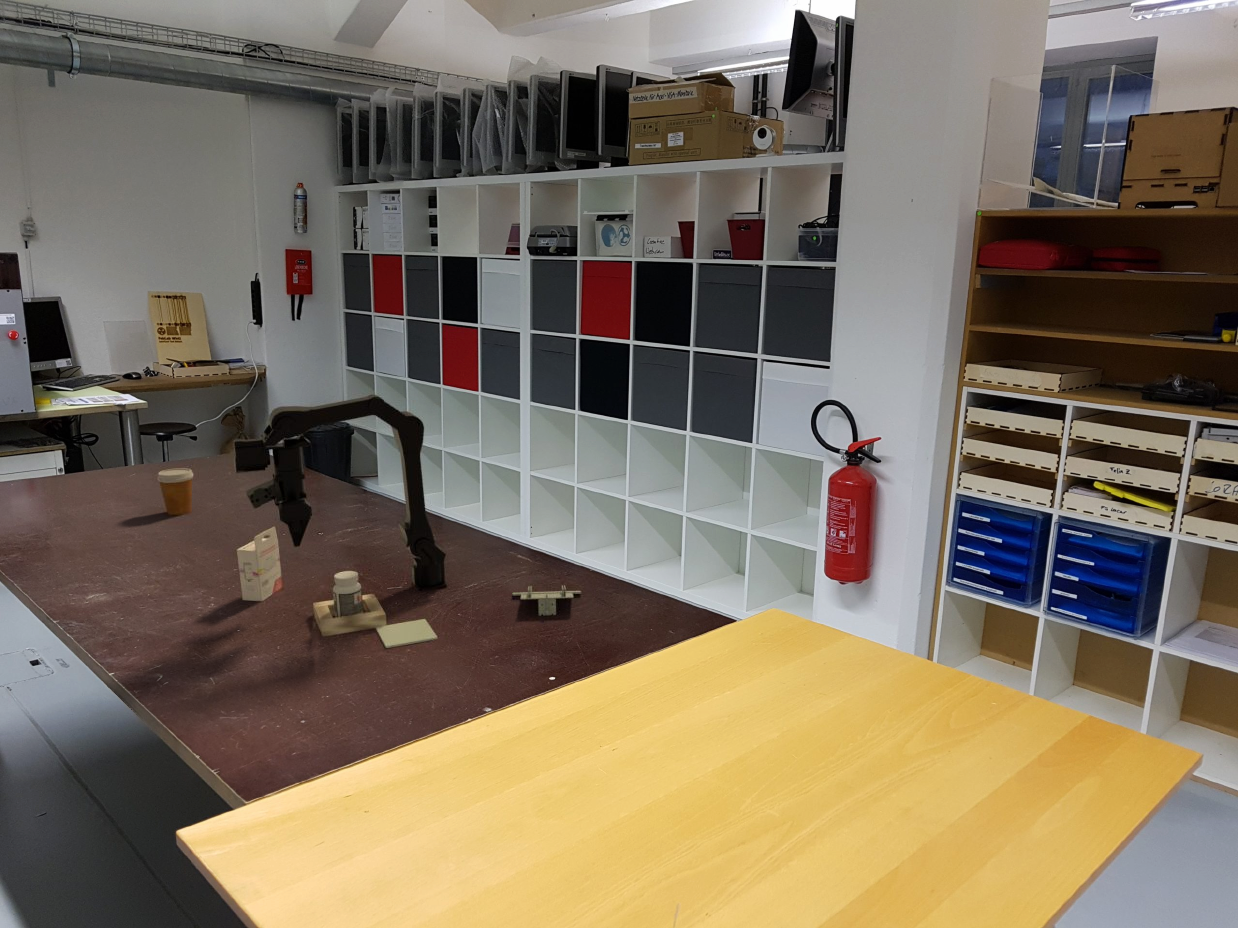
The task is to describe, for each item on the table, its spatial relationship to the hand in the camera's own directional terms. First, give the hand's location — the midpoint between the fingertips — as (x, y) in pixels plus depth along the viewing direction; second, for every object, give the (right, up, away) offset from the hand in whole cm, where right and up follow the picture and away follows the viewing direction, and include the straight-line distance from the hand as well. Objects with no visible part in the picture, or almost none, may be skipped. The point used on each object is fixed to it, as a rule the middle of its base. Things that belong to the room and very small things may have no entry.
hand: (294, 540), depth 196 cm
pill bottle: (+13, -16, -4) cm, 21 cm away
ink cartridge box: (-11, -13, +10) cm, 19 cm away
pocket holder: (+13, -16, -4) cm, 21 cm away
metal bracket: (+53, -15, +5) cm, 55 cm away
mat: (+26, -18, -11) cm, 34 cm away
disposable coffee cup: (-58, +2, +72) cm, 92 cm away
